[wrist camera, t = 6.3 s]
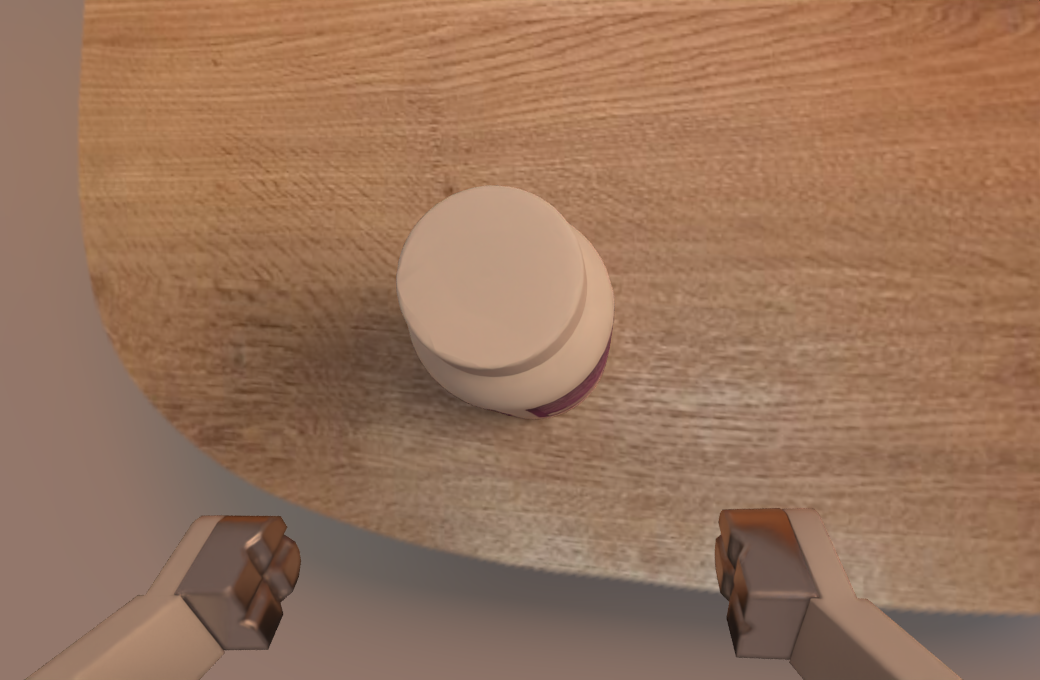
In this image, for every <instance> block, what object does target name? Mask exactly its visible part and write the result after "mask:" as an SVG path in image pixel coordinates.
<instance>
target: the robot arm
mask: <svg viewBox="0 0 1040 680" xmlns="http://www.w3.org/2000/svg"><path fill="white" fill-rule="evenodd" d="M718 523H719V527H720V531H721V535H720V536H719V537H718V538H716V543H715V567H716V574H717V580H718V584H719V588H720V593H721V594H722V595H723V596H724V597H725V598H726V599H727V600H728V601H729V608H728V613H727V621H728V626H729V630H730V634H731V638H732V642H733V646H734V650H735V654H736V657H739V658H762V659H785V660H790V662H789V663H790V664H791V665H792V666H793V667H794V669H795V670H796V671H797V672H798V674H799V675H800V676H801V677H802V678H803V680H963V679H961V678H960V677H959V676H958V675H957V674H955V673H954V672H953V671H952V670H951V669H950V668H948V667H947V666H946V665H945V664H944V663H942V662H941V661H940V660H939V659H938V658H936V657H935V656H934V655H933V654H932V653H931V652H929V651H928V650H927V649H926V648H925V647H924V646H922V645H921V644H920V643H919V642H918V641H916V640H915V639H914V638H913V637H912V636H910V635H909V634H908V633H907V632H906V631H905V630H903V629H902V628H901V627H900V626H898V625H897V624H896V623H895V622H894V621H893V620H892V619H890V618H889V617H888V616H887V615H886V614H884V613H883V612H882V611H881V610H880V609H879V608H877V607H876V606H875V605H874V604H873V603H871V602H870V601H869V600H868V599H857V597H856V594H855V592H854V590H853V588H852V586H851V583H850V581H849V579H848V577H847V575H846V572H845V570H844V568H843V566H842V564H841V561H840V559H839V557H838V555H837V553H836V550H835V548H834V546H833V544H832V542H831V539H830V537H829V535H828V533H827V531H826V528H825V526H824V524H823V522H822V520H821V517H820V515H819V513H818V512H817V511H816V510H815V509H813V508H797V509H780V508H762V509H725V510H722V511H721V513H720V516H719V522H718ZM286 529H287V526H286V524H285V522H284V521H283V519H282V518H281V516H228V515H219V516H218V515H217V516H201V517H199V518H198V519H197V520H195V521H194V522H193V523H192V524H191V526H190V527H189V529H188V530H187V532H186V533H185V535H184V537H183V538H182V540H181V541H180V543H179V544H178V546H177V547H176V549H175V550H174V552H173V553H172V555H171V556H170V558H169V559H168V561H167V563H166V564H165V566H164V567H163V569H162V570H161V572H160V573H159V575H158V576H157V578H156V579H155V581H154V582H153V584H152V586H151V587H150V589H149V590H148V592H147V593H146V595H138V596H136V597H135V598H133V599H132V600H131V601H129V602H128V603H127V604H125V605H124V606H123V607H121V608H120V609H119V610H117V611H116V612H115V613H113V614H112V615H111V616H109V617H108V618H107V619H105V620H104V621H103V622H101V623H100V624H99V625H97V626H96V627H95V628H93V629H92V630H90V631H89V632H88V633H86V634H85V635H84V636H82V637H81V638H80V639H78V640H77V641H76V642H74V643H73V644H72V645H71V646H69V647H68V648H66V649H65V650H64V651H62V652H61V653H60V654H59V655H57V656H56V657H54V658H53V659H52V660H50V661H49V662H48V663H46V664H45V665H43V666H42V667H41V668H40V669H38V670H37V671H35V672H34V673H33V674H31V675H30V676H29V677H27V678H26V679H25V680H200V679H201V678H202V677H203V675H204V674H205V673H206V672H207V671H208V670H209V669H210V668H211V667H212V666H213V665H214V664H215V663H216V662H217V661H218V660H219V659H220V657H221V656H222V655H223V654H224V653H225V652H224V650H268V649H269V646H270V644H271V642H272V639H273V637H274V635H275V632H276V630H277V628H278V625H279V623H280V620H281V618H282V616H283V611H282V607H281V601H283V600H284V599H285V598H286V597H287V596H288V595H289V594H291V593H292V592H293V590H294V587H295V585H296V582H297V580H298V577H299V572H300V565H301V557H300V551H299V548H298V546H297V544H296V542H295V541H293V540H292V539H290V538H289V537H287V536H286V535H284V533H285V531H286Z"/></svg>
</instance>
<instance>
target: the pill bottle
mask: <svg viewBox="0 0 1040 680" xmlns="http://www.w3.org/2000/svg"><path fill="white" fill-rule="evenodd" d="M396 289H397V296H398V301H399V305H400V309H401V312H402V314H403V317H404V319H405V321H406V323H407V324H408V328H409V333H410V337H411V341H412V344H413V346H414V349H415V351H416V353H417V355H418V357H419V359H420V361H421V362H422V364H423V366H424V367H425V369H426V370H427V371H428V373H429V374H430V375H431V376H432V377H433V378H434V379H435V380H436V381H437V382H438V383H439V384H440V385H441V386H442V387H443V388H445V389H446V390H447V391H449V392H450V393H451V394H453V395H454V396H456V397H458V398H459V399H461V400H463V401H465V402H466V403H468V404H471V405H474V406H476V407H480V408H483V409H487V410H491V411H495V412H499V413H502V414H506V415H509V416H515V417H519V418H524V419H544V418H550V417H555V416H558V415H561V414H563V413H565V412H567V411H569V410H571V409H573V408H575V407H576V406H577V405H579V404H580V403H581V402H583V401H584V400H585V399H586V398H587V397H588V396H589V395H590V393H591V392H592V391H593V390H594V388H595V387H596V385H597V384H598V382H599V380H600V378H601V376H602V374H603V371H604V368H605V365H606V362H607V358H608V354H609V348H610V341H611V335H612V329H613V321H614V308H615V300H614V292H613V289H612V285H611V282H610V278H609V276H608V273H607V270H606V267H605V265H604V263H603V261H602V259H601V257H600V256H599V254H598V252H597V251H596V250H595V248H594V247H593V245H592V244H591V243H590V242H589V241H588V239H587V238H586V237H585V236H584V235H583V234H582V233H580V232H579V231H578V230H577V229H576V228H575V227H573V226H572V225H570V224H569V223H568V222H567V221H566V220H565V218H564V217H563V216H562V215H561V214H560V213H559V211H558V210H557V209H555V208H554V207H553V206H552V205H551V204H549V203H548V202H546V201H545V200H543V199H542V198H540V197H539V196H537V195H534V194H532V193H530V192H528V191H525V190H522V189H518V188H513V187H507V186H498V185H496V186H491V185H487V186H480V187H474V188H470V189H466V190H464V191H461V192H458V193H455V194H453V195H451V196H449V197H447V198H446V199H444V200H443V201H441V202H440V203H438V204H436V205H435V206H434V207H433V208H432V209H430V210H429V211H428V212H427V213H426V214H425V215H424V216H423V217H422V218H421V219H420V220H419V221H418V222H417V224H416V225H415V226H414V228H413V229H412V231H411V232H410V234H409V236H408V238H407V240H406V242H405V244H404V246H403V249H402V251H401V255H400V258H399V261H398V269H397V275H396Z"/></svg>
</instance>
